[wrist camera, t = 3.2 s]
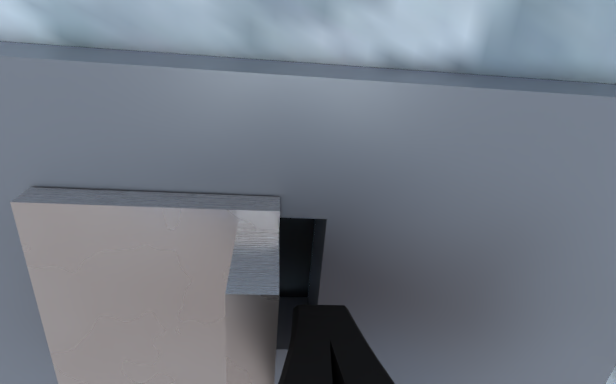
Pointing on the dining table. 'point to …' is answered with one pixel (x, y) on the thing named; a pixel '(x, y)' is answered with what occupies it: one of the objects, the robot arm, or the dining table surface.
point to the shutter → (154, 284)
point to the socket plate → (348, 196)
